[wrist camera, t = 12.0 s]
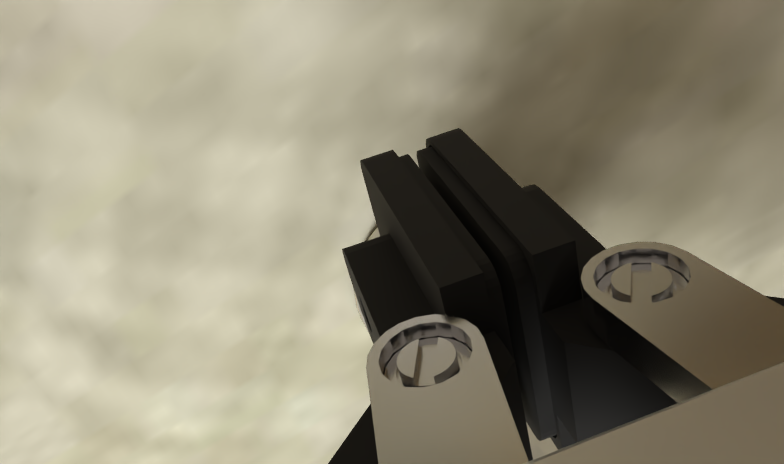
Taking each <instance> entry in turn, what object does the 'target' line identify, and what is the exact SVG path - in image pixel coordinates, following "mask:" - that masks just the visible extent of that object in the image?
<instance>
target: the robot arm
mask: <svg viewBox="0 0 784 464" xmlns="http://www.w3.org/2000/svg"><path fill="white" fill-rule="evenodd" d="M417 159H418V164H419V167H418V166H417V165H416V163H415V162H414V161H413V159H412V158H411V157H410V156H409V155H408V154H407V155H404V156H401V157H398V156H397V154H396V153H395V152H394V151H393V150H391V151H388V152H385V153H382V154H379V155H376V156H372V157H369V158H366V159H363V160H361V161H360V163H361V169H362V173H363V177H364V180H365V184H366V187H367V191H368V194H369V198H370V202H371V205H372V209H373V212H374V216H375V220H376V223H377V228H376V230H375V231H374V232H373V233H372V235H371V236H370V237H369V239H368V241H365V242H362V243H359V244H356V245H353V246H350V247H347V248H344V249H342V250H343V255H344V259H345V262H346V265H347V268H348V272H349V275H350V278H351V281H352V284H353V287H354V293H355V300H356V306H357V308H358V311H359V314H360V316H361V319H362V321H363V323H364V325H365V327H366V328H367V330H368V332H369V334H370V336H371V339H372V341H373V346H372V348H371V350H370V352H369V354H368V356H367V366H366V370H367V378H368V386H369V394H370V401H371V404H370V406H369V407H368V408H367V410H366V411H365V413H364V414H363V415H362V417H361V418H360V420H359V421H358V422H357V424H356V425H355V427H354V428H353V429H352V431H351V432H350V434H349V435H348V436H347V438H346V439H345V441H344V442H343V443H342V445H341V446H340V448H339V449H338V450H337V452H336V453H335V455H334V456H333V458H332V459H331V460H330V462H329V463H328V464H784V298H777V297H769V296H764V295H762V294H760V293H759V292H757V291H755V290H753V289H752V288H750V287H748V286H746V285H745V284H743V283H741V282H739V281H738V280H736V279H734V278H732V277H731V276H729V275H727V274H725V273H724V272H722V271H720V270H718V269H717V268H715V267H713V266H712V265H710V264H708V263H706V262H705V261H703V260H701V259H699V258H698V257H696V256H694V255H692V254H691V253H689V252H687V251H685V250H682V249H680V248H677V247H675V246H673V245H667V244H662V243H657V242H633V243H627V244H620V245H617V246H614V247H611V248H608V249H605V248H604V247H603V246H602V245H601V244H600V243H599V242H598V241H597V240H596V239H595V238H594V237H592V236H591V235H590V234H589V233H588V232H587V231H586V230H585V229H584V228H583V227H582V226H580V225H579V224H578V223H577V222H576V221H575V220H574V219H573V218H572V217H571V216H570V215H569V214H567V213H566V212H565V211H564V210H563V209H562V208H561V207H560V206H559V205H558V204H557V203H556V202H554V201H553V200H552V199H551V198H550V197H549V196H548V195H547V194H546V193H545V192H544V191H542V190H541V189H540V188H539V187H537V186H536V185H529V186H526V187H523V188H521V187H520V186H519V185H518V184H517V183H516V182H515V181H514V180H513V179H512V178H511V177H510V176H509V175H508V174H507V173H506V172H504V171H503V170H502V169H501V168H500V167H499V166H498V165H497V164H496V163H495V162H494V161H493V160H492V159H491V158H490V157H489V156H488V155H487V154H486V153H485V152H484V151H483V150H482V149H481V148H480V147H479V146H478V145H477V144H476V143H475V142H474V141H472V140H471V139H470V138H469V137H468V136H467V135H466V134H465V133H464V132H463V131H462V130H461V129H459V128H458V129H455V130H452V131H449V132H446V133H443V134H440V135H437V136H434V137H430V138H428V139H426V148H425V149H422V150H419V151H417ZM419 168H420V169H419Z"/></svg>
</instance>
